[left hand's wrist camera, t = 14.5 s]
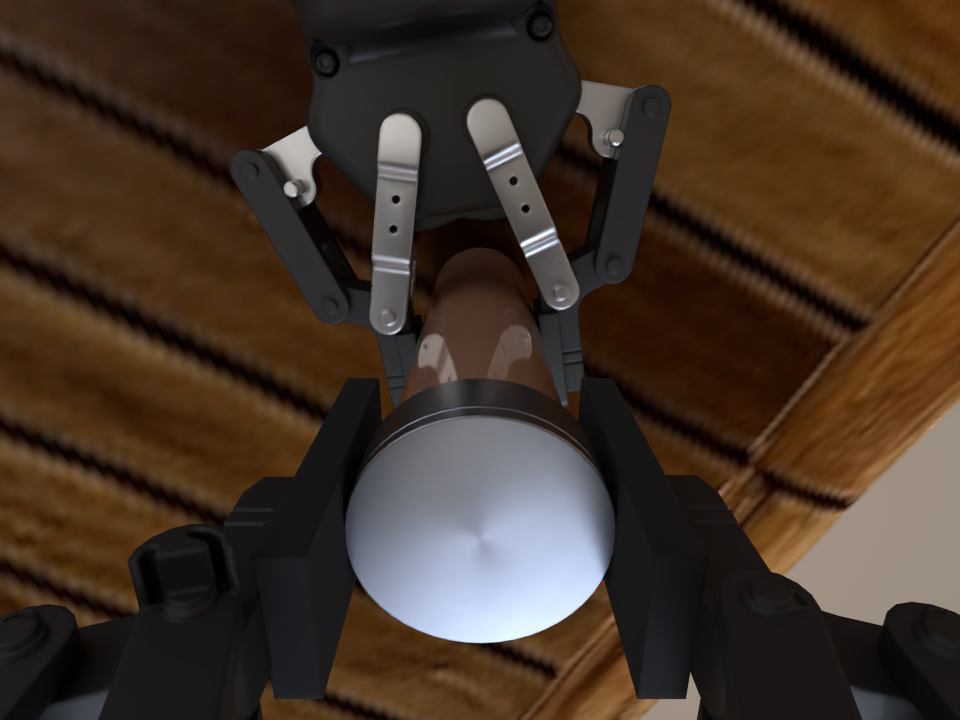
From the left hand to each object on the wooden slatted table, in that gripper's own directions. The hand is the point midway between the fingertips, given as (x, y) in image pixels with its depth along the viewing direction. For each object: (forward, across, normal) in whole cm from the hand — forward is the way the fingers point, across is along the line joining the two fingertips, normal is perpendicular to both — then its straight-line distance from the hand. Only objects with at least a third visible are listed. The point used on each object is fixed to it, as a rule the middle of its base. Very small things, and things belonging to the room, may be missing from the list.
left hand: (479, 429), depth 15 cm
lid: (-4, 0, 0) cm, 4 cm away
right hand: (+7, 0, -3) cm, 8 cm away
